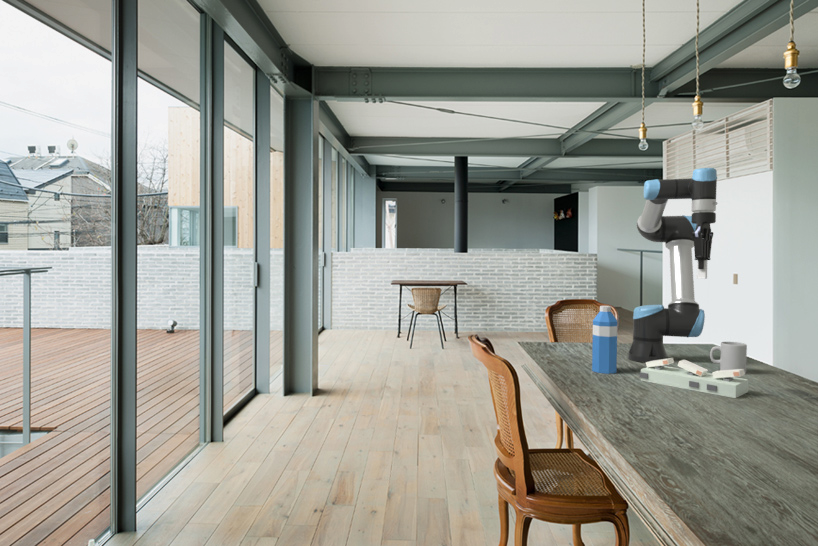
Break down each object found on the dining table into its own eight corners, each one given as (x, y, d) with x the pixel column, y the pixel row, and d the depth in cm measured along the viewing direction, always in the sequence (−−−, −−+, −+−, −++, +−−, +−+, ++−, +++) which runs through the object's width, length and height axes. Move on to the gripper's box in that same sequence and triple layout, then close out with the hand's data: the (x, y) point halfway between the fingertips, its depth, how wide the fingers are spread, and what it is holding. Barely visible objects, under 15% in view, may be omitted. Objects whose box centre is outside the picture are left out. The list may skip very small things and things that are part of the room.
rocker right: (713, 378, 170) (712, 372, 171) (718, 376, 173) (717, 370, 173) (740, 376, 164) (738, 370, 165) (745, 374, 167) (743, 368, 168)
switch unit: (639, 380, 185) (639, 367, 185) (655, 375, 193) (655, 362, 193) (735, 398, 162) (735, 383, 162) (748, 391, 170) (748, 377, 170)
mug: (744, 370, 201) (745, 342, 200) (747, 375, 193) (748, 346, 193) (708, 367, 206) (709, 340, 206) (710, 372, 199) (711, 343, 198)
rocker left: (646, 367, 187) (645, 362, 187) (652, 365, 190) (651, 360, 190) (668, 364, 181) (667, 359, 181) (674, 362, 184) (672, 357, 184)
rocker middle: (677, 365, 179) (678, 361, 178) (682, 364, 182) (684, 359, 181) (700, 376, 173) (702, 371, 173) (706, 374, 176) (708, 369, 176)
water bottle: (621, 373, 195) (622, 307, 194) (596, 373, 195) (597, 307, 194) (612, 368, 204) (613, 305, 203) (588, 368, 204) (589, 305, 204)
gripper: (708, 210, 178) (706, 279, 178) (722, 212, 186) (720, 278, 187) (685, 211, 183) (683, 278, 184) (699, 213, 192) (697, 277, 193)
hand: (702, 278), depth 185 cm, fingers closed
